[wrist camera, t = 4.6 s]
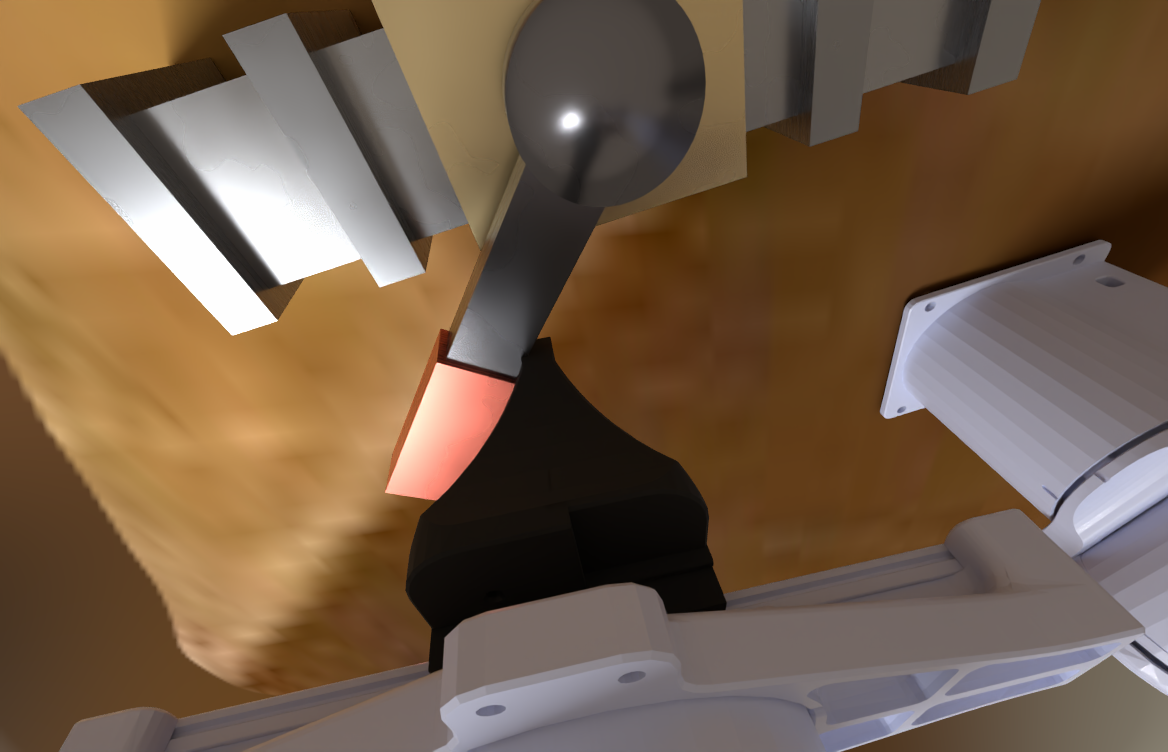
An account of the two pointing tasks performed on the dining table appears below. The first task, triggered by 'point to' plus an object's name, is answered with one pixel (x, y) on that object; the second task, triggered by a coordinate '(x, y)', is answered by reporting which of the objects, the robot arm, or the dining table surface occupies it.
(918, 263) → the dining table surface
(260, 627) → the dining table surface
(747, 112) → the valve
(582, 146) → the lever
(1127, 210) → the dining table surface
